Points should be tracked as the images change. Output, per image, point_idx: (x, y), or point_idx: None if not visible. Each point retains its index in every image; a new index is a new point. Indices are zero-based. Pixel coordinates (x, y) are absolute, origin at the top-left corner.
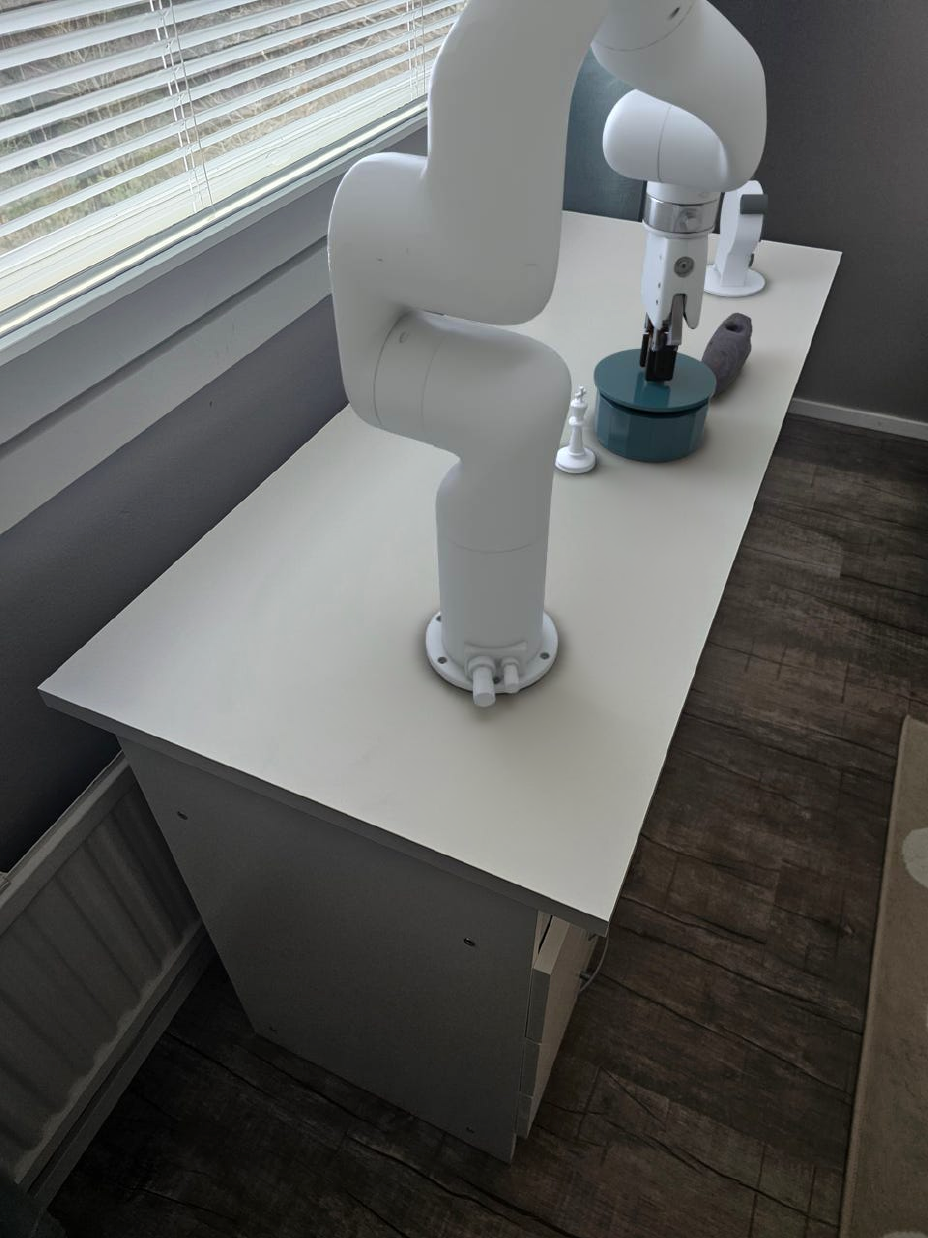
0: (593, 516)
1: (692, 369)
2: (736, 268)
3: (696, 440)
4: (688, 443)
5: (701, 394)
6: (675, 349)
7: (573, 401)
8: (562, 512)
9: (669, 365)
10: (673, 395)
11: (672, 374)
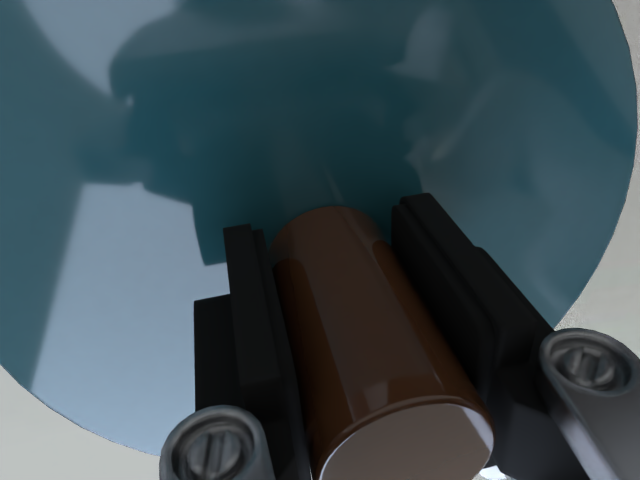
0: (623, 250)
1: (217, 24)
2: None
3: None
4: None
5: (555, 4)
6: (613, 356)
7: (503, 477)
8: (589, 306)
9: (512, 283)
10: (533, 170)
11: (438, 208)
